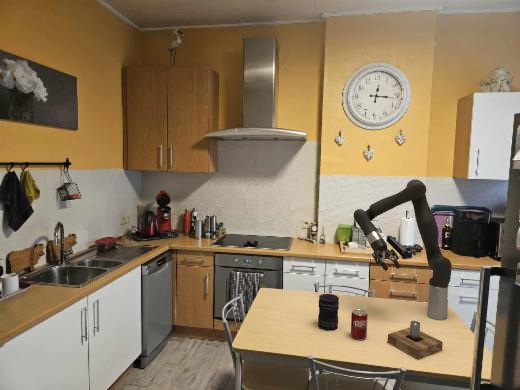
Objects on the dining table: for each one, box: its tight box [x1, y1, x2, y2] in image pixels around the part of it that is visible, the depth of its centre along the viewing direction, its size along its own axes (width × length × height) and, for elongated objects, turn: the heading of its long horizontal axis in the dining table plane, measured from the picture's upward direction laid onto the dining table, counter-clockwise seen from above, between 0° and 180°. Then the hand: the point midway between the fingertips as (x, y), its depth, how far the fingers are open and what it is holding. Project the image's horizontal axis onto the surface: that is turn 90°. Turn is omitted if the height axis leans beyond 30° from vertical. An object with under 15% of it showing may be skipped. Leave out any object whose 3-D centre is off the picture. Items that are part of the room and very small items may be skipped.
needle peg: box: [409, 320, 421, 342], centre depth 160 cm, size 4×4×11 cm
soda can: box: [350, 308, 369, 341], centre depth 168 cm, size 7×7×12 cm
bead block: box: [386, 327, 444, 361], centre depth 160 cm, size 16×16×4 cm
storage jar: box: [317, 293, 340, 332], centre depth 178 cm, size 10×10×15 cm
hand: (392, 269), depth 180 cm, fingers open, 8 cm apart
